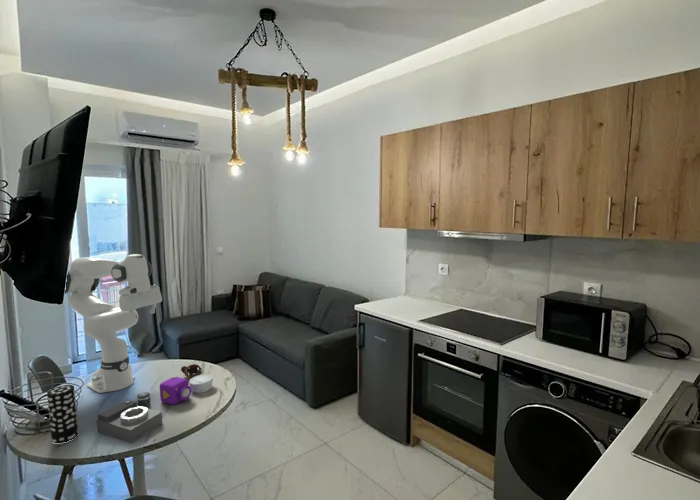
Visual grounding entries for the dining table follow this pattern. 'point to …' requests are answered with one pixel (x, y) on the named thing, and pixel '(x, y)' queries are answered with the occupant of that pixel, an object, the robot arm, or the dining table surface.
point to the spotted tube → (62, 413)
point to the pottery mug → (191, 371)
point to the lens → (144, 400)
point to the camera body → (128, 420)
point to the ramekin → (201, 383)
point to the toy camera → (174, 390)
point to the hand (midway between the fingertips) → (143, 316)
